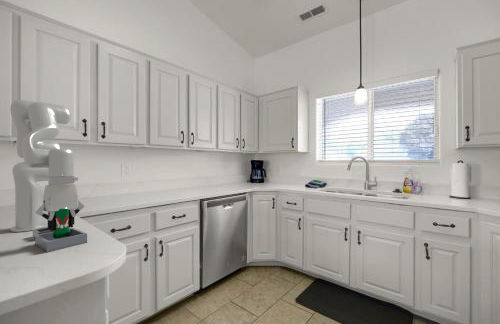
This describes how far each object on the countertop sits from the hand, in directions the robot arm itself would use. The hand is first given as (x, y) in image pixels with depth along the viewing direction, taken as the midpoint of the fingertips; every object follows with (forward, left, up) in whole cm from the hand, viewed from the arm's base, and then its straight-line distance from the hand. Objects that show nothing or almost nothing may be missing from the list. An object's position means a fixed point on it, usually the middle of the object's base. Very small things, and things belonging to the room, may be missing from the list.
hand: (61, 228), depth 88 cm
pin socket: (-16, 0, -6) cm, 17 cm away
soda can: (0, 0, -4) cm, 4 cm away
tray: (0, 0, -6) cm, 6 cm away
